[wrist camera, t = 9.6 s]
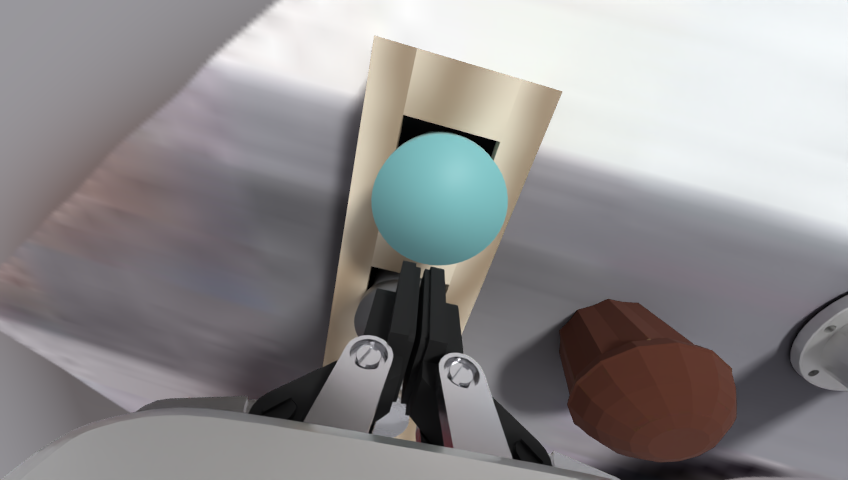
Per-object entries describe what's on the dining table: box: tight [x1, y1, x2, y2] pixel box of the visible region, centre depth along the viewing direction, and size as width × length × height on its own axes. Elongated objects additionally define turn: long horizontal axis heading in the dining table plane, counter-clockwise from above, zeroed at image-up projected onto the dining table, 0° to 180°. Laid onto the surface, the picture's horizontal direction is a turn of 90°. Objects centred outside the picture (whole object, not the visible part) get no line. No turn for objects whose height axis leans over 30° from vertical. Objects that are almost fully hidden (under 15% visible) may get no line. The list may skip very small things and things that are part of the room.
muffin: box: [559, 299, 737, 462], centre depth 25 cm, size 12×11×10 cm
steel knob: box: [373, 381, 409, 438], centre depth 28 cm, size 6×6×6 cm
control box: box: [323, 36, 562, 442], centre depth 25 cm, size 10×32×5 cm, turn 166°
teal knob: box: [371, 130, 508, 266], centre depth 16 cm, size 6×6×6 cm
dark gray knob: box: [354, 268, 422, 337], centre depth 24 cm, size 6×6×6 cm
